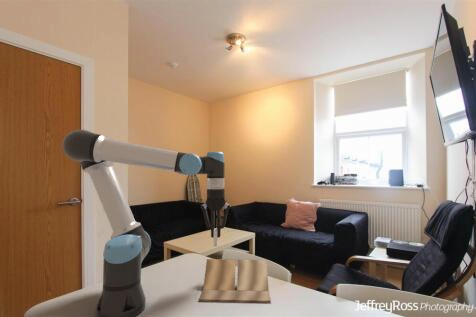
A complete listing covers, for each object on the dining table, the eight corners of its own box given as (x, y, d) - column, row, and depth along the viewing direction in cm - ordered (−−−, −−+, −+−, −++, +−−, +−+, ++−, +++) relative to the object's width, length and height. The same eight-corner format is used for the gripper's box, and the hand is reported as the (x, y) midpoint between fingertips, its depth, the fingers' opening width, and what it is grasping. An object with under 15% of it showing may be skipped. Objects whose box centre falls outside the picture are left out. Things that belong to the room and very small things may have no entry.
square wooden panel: (237, 291, 94) (237, 290, 93) (237, 261, 103) (237, 259, 102) (268, 292, 94) (268, 290, 93) (266, 261, 103) (266, 260, 102)
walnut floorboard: (199, 303, 86) (199, 299, 86) (203, 293, 93) (203, 289, 93) (270, 305, 85) (270, 300, 85) (268, 294, 93) (268, 290, 93)
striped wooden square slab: (203, 291, 94) (203, 289, 93) (207, 260, 103) (206, 259, 102) (234, 291, 94) (234, 290, 93) (235, 261, 103) (235, 259, 102)
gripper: (198, 189, 100) (198, 248, 98) (230, 188, 99) (230, 248, 98) (201, 187, 107) (201, 242, 106) (231, 187, 107) (231, 242, 105)
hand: (215, 245), depth 102 cm, fingers closed
